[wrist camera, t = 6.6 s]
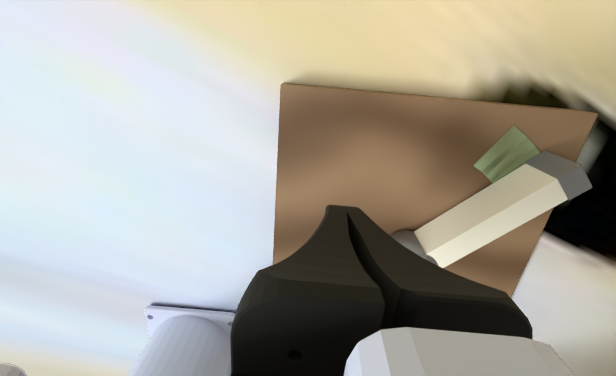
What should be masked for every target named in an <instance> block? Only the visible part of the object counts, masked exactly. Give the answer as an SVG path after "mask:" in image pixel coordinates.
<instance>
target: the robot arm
mask: <svg viewBox="0 0 616 376" xmlns="http://www.w3.org/2000/svg"><path fill="white" fill-rule="evenodd" d="M144 315H145V320H146V325H147V331H148V336H149V341H148V342H147V344H146V346H145V347H144V349H143V351H142V352H141V354H140V355H139V357H138V359H137V360H136V362H135V364H134V365H133V367H132V369H131V370H130V372H129V374H128V375H127V376H575V375H574V374H573V373H572V371H571V370H570V369H569V368H568V367H567V365H566V364H565V363H564V362H563V361H562V359H561V358H560V357H559V356H558V355H557V353H556V352H555V351H554V350H553V349H552V347H551V346H550V345H547V344H544V343H541V342H538V341H535V340H532V339H533V338H532V327H531V324H530V322H529V320H528V318H527V317H526V316H525V315H524V313H523V312H522V311H521V310H520V309H519V307H518V306H517V305H516V304H515V303H514V301H513V300H512V299H511V298H510V297H509V295H508V294H507V293H506V292H504V291H501V290H498V289H495V288H492V287H489V286H487V285H484V284H481V283H478V282H475V281H472V280H469V279H467V278H464V277H462V276H460V275H457V274H455V273H452V272H450V271H448V270H446V269H444V268H441V267H439V266H437V265H435V264H434V263H432V262H430V261H428V260H426V259H424V258H422V257H421V256H419V255H417V254H415V253H414V252H412V251H411V250H409V249H408V248H406V247H405V246H403V245H402V244H400V243H399V242H397V241H396V240H395V239H394V238H392V237H391V236H390V235H388V234H387V233H386V232H385V231H384V230H383V229H381V228H380V227H379V226H378V225H377V224H376V223H375V222H374V221H373V220H371V219H370V218H369V217H368V216H367V215H366V214H365V213H364V212H363V211H362V210H361V209H360V208H358V207H351V206H340V205H328V206H326V210H325V215H324V217H323V219H322V221H321V223H320V225H319V226H318V228H317V229H316V231H315V232H314V233H313V235H312V236H311V237H310V238H309V239H308V241H307V242H306V243H305V244H304V245H303V246H301V247H300V248H299V249H298V250H297V251H296V252H294V253H293V254H292V255H290V256H289V257H287V258H286V259H284V260H282V261H280V262H278V263H276V264H274V265H272V266H269V267H267V268H264V269H262V270H259V271H258V272H257V273H256V275H255V276H254V278H253V279H252V281H251V282H250V284H249V286H248V288H247V289H246V291H245V293H244V295H243V297H242V299H241V301H240V303H239V305H238V308H237V311H236V314H235V313H232V312H222V311H210V310H199V309H187V308H176V307H164V306H153V305H149V306H147V307H146V308H145V310H144ZM232 322H233V323H232ZM0 376H27V374H26V373H25V372H24V370H23V369H21V368H19V367H18V366H16V365H12V364H8V363H0Z"/></svg>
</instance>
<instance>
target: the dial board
mask: <svg viewBox="0 0 616 376" xmlns="http://www.w3.org/2000/svg"><path fill="white" fill-rule="evenodd" d="M597 115H598V113H592V112H587V111H581V110H575V109H564V108H553V107H542V106H531V105H520V104H509V103H498V102H487V101H476V100H465V99H454V98H443V97H433V96H422V95H411V94H400V93H389V92H378V91H367V90H356V89H345V88H334V87H323V86H312V85H301V84H290V83H283V84H281V90H280V113H279V136H278V159H277V182H276V204H275V227H274V250H273V265H274V264H276V263H278V262H280V261H282V260H284V259H286V258H287V257H289V256H290V255H292V254H293V253H294V252H296V251H297V250H298V249H299V248H300V247H301V246H303V245H304V244H305V243H306V242H307V241H308V239H309V238H310V237H311V236H312V235H313V233H314V232H315V231H316V229H317V228H318V226H319V225H320V223H321V221H322V219H323V217H324V215H325V210H326V206H328V205H340V206H351V207H358V208H360V209H361V210H362V211H363V212H364V213H365V214H366V215H367V216H368V217H369V218H370V219H371V220H373V221H374V222H375V223H376V224H377V225H378V226H379V227H380V228H381V229H383V230H384V231H385V232H386V233H387V234H388V235H391V234H393V233H395V232H398V231H404V230H408V231H413V232H414V231H416V230H417V229H419V228H421V227H422V226H424V225H426V224H427V223H429V222H430V221H432V220H434V219H435V218H437V217H439V216H440V215H442V214H444V213H445V212H447V211H449V210H450V209H452V208H453V207H455V206H457V205H458V204H460V203H462V202H463V201H465V200H467V199H468V198H470V197H472V196H473V195H475V194H476V193H478V192H480V191H481V190H483V189H485V188H486V187H488V186H490V185H491V184H493V183H495V182H496V181H498V180H499V179H501V178H503V177H504V176H506V175H508V174H509V173H511V172H513V171H514V170H516V169H517V168H519V167H521V166H522V165H524V164H525V162H527V161H528V160H530V159H532V158H533V157H535V156H536V155H538V154H540V153H541V152H543V151H547V152H550V153H552V154H555V155H557V156H560V157H563V158H565V159H568V160H570V161H573V162H576V159H577V157H578V155H579V153H580V151H581V149H582V147H583V145H584V143H585V141H586V138H587V136H588V134H589V132H590V130H591V128H592V126H593V124H594V122H595V120H596V117H597ZM553 208H554V207H553ZM553 208H551V209H549V210H548V211H546V212H544V213H542V214H540V215H539V216H537V217H535V218H533V219H531V220H529V221H528V222H526V223H524V224H522V225H520V226H519V227H517V228H515V229H513V230H511V231H510V232H508V233H506V234H504V235H502V236H500V237H499V238H497V239H495V240H493V241H491V242H490V243H488V244H486V245H484V246H482V247H481V248H479V249H477V250H475V251H473V252H471V253H470V254H468V255H466V256H464V257H462V258H461V259H459V260H457V261H455V262H453V263H452V264H450V265H448V266H446V267H444V269H446V270H448V271H450V272H452V273H455V274H457V275H460V276H462V277H464V278H467V279H469V280H472V281H475V282H478V283H481V284H484V285H487V286H489V287H492V288H495V289H498V290H501V291H504V292H506V293H507V294H508V295H509V297H510V298H511V296H512V294H513V292H514V290H515V288H516V285H517V283H518V281H519V279H520V277H521V275H522V273H523V271H524V269H525V267H526V264H527V262H528V260H529V258H530V256H531V254H532V252H533V250H534V248H535V246H536V243H537V241H538V239H539V237H540V235H541V233H542V231H543V229H544V227H545V225H546V222H547V220H548V218H549V216H550V214H551V212H552V210H553Z"/></svg>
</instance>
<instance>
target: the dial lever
mask: <svg viewBox="0 0 616 376" xmlns="http://www.w3.org/2000/svg"><path fill="white" fill-rule="evenodd" d="M591 188H592V185H591V183H590V181H589V179H588V177H587V175H586V173H585V171H584V169H583V167H582V165H581V164H578V163H576V162H573V161H570V160H568V159H565V158H563V157H560V156H557V155H555V154H552V153H550V152H547V151H543V152H541V153H540V154H538V155H536V156H535V157H533V158H532V159H530V160H528V161H527V162H525V164H524V165H522V166H521V167H519V168H517V169H516V170H514V171H513V172H511V173H509V174H508V175H506V176H504V177H503V178H501V179H499V180H498V181H496V182H495V183H493V184H491V185H490V186H488V187H486V188H485V189H483V190H481V191H480V192H478V193H476V194H475V195H473V196H472V197H470V198H468V199H467V200H465V201H463V202H462V203H460V204H458V205H457V206H455V207H453V208H452V209H450V210H449V211H447V212H445V213H444V214H442V215H440V216H439V217H437V218H435V219H434V220H432V221H430V222H429V223H427V224H426V225H424V226H422V227H421V228H419V229H417V230H416V231H414V232H413V231H408V230H404V231H398V232H395V233H393V234H391V235H390V236H391V237H392V238H394V239H395V240H396V241H397V242H399V243H400V244H402V245H403V246H405V247H406V248H408V249H409V250H411V251H412V252H414V253H415V254H417V255H419V256H421V257H422V258H424V259H426V260H428V261H430V262H432V263H434V264H435V265H437V266H439V267H441V268H444V267H446V266H448V265H450V264H452V263H453V262H455V261H457V260H459V259H461V258H462V257H464V256H466V255H468V254H470V253H471V252H473V251H475V250H477V249H479V248H481V247H482V246H484V245H486V244H488V243H490V242H491V241H493V240H495V239H497V238H499V237H500V236H502V235H504V234H506V233H508V232H510V231H511V230H513V229H515V228H517V227H519V226H520V225H522V224H524V223H526V222H528V221H529V220H531V219H533V218H535V217H537V216H539V215H540V214H542V213H544V212H546V211H548V210H549V209H551V208H553V207H555V206H557V205H558V204H560V203H562V202H564V201H566V200H571V199H572V198H574V197H576V196H578V195H580V194H581V193H583V192H585V191H587V190H589V189H591Z"/></svg>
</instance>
